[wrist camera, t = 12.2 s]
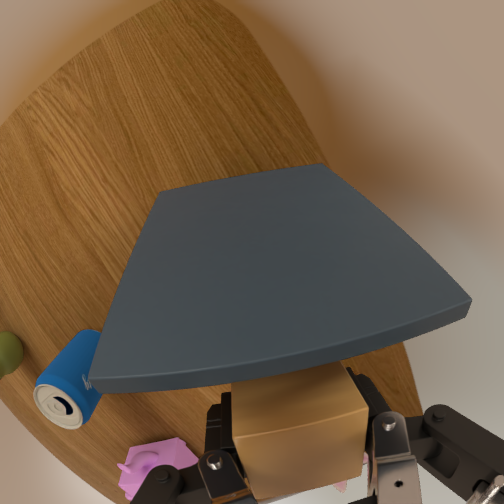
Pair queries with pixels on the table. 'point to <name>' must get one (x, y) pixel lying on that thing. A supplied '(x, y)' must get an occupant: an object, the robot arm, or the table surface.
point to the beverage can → (69, 383)
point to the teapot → (152, 462)
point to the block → (299, 429)
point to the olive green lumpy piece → (10, 353)
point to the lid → (265, 284)
